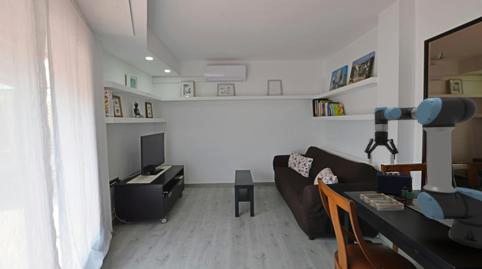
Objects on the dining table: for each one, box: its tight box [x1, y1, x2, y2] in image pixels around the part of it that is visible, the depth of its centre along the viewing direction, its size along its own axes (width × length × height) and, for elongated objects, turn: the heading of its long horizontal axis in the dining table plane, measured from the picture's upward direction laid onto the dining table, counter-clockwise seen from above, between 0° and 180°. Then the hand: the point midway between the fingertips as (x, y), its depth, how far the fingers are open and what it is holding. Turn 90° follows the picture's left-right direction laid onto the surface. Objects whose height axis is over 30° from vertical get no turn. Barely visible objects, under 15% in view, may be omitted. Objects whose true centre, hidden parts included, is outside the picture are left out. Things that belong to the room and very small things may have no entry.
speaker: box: [376, 171, 413, 196], centre depth 184 cm, size 22×13×15 cm, turn 62°
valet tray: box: [359, 193, 405, 212], centre depth 162 cm, size 22×15×4 cm
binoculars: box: [393, 186, 414, 206], centre depth 162 cm, size 9×11×10 cm
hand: (381, 164), depth 159 cm, fingers open, 13 cm apart
